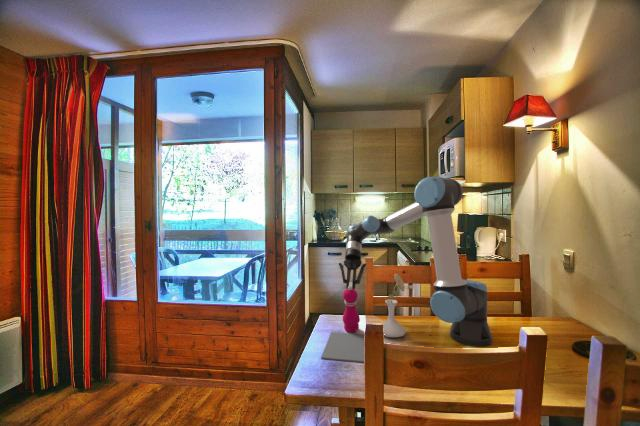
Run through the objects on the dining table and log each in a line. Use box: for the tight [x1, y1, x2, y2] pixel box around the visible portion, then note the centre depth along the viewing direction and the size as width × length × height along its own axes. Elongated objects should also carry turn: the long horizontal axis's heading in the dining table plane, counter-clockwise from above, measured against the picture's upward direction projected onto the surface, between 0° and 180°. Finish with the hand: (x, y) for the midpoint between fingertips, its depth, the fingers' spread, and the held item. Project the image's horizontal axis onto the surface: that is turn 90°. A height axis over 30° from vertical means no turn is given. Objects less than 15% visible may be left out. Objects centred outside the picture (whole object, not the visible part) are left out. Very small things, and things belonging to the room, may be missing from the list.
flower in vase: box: [381, 273, 407, 338], centre depth 126 cm, size 13×11×25 cm
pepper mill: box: [342, 286, 361, 333], centre depth 128 cm, size 7×7×20 cm
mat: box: [320, 331, 365, 364], centre depth 114 cm, size 22×16×1 cm
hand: (350, 297), depth 130 cm, fingers closed
